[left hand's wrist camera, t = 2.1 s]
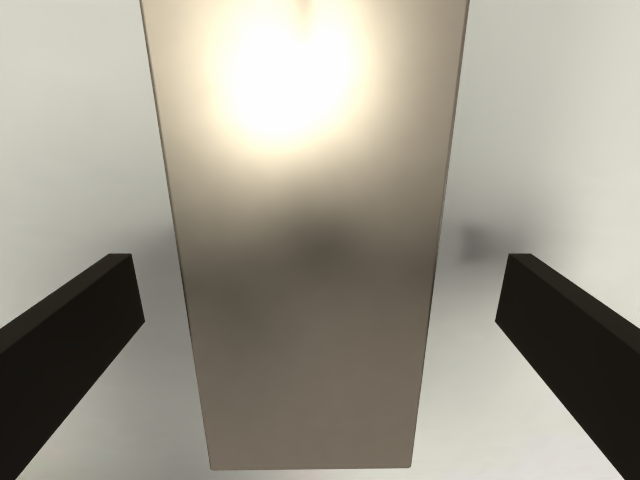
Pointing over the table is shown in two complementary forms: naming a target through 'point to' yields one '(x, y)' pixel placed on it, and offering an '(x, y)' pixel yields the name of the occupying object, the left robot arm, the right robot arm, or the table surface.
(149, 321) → the table surface
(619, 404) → the left robot arm
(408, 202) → the bar
